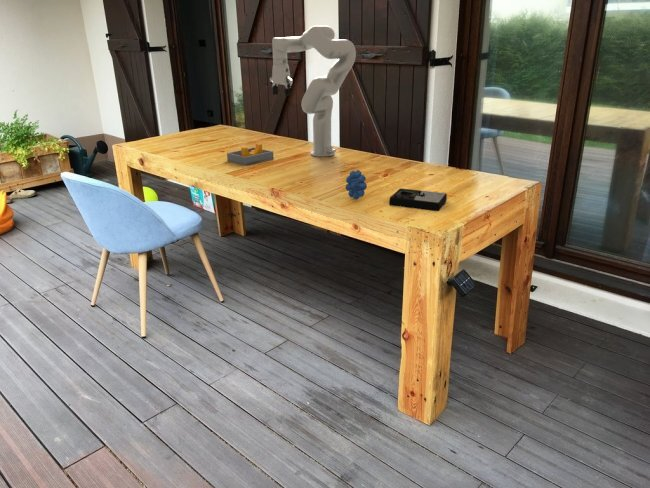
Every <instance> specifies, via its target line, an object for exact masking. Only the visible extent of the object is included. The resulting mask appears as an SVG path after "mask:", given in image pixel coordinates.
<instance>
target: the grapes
mask: <svg viewBox="0 0 650 488" xmlns="http://www.w3.org/2000/svg"><path fill="white" fill-rule="evenodd" d="M366 178H367V177H366V176H365V174H362V171H360V170H359V169H358V170H356V171H355V170H352V171H350V172H349V175H348V176H347V177H346V179H345V182H346V183H347V184H346V185H345V190H346V191H347V192H348V197H350V198H353V199H354V200H358V199H360V198H362V197H363V196H365V190H366V189H367V186H368V185H367V182H366Z"/></svg>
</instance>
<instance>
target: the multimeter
mask: <svg viewBox="0 0 650 488" xmlns="http://www.w3.org/2000/svg"><path fill="white" fill-rule="evenodd" d="M447 198H448V195H447V193H446V192H440V191H439V192H437V191H431V190H430V191H429V190H419V189H412V188H411V189H410V188H399V189H398V190H396V192H395V193H393V194H392V195H391V196H390V197H389V203H388V204H389V206H391V207H392V206H393V207H398V208H399V207H400V208H409V209H416V210H424V211H432V212H440V210H441V209H442V207H444V205H445V204H446V203H447V200H448V199H447Z"/></svg>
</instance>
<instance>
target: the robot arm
mask: <svg viewBox="0 0 650 488" xmlns="http://www.w3.org/2000/svg"><path fill="white" fill-rule="evenodd" d="M271 41H272V45H271V46H272V62H273V63H272V64H273V65H272V71H271V72H272V73H271V77H269V82H270V84H271V88H272V95H274V96H276V95H279V87H278V86H279V85H283V86H284V87H285V89H284V96H285V97H290V96H291V88H292V86H293V82H294V81H293V79H292V78H291V71H290V66H289V64H288V63H289V62H288V54H289V53H300V52H304V51H309V50H311V49H314V50H315V51H317V52H318V53H319V55H321V56H322V57H323V58H325V59H328V60H336V61H335V62H334V63H333V64H332V65H331V67H330V69H329V70H328V72H327V74H326V75H323V76H317V77H314V79H312V80H311V82H310V83H309V85H308V87H307V89H306V91H305V92H304V95H303V96H302V99H301V109H302V112H304V113H305V114H307V115H311V114H313V117H312V140H313V141H312V143H313V144H312V145H313V150H311V151H310V155H311V156H313V157H318V158H319V157H320V158H321V157H322V158H323V157H331V156H334V155H335V153H336V152H337V149H335V148H334V146H333V145H332V112H333V107H334V99H333V97H332V96H334V95H336V94H337V93H338V91H339V90H340V88H341V86H342V84H343V82H344V81H345V79H346V77H347V76H348V74H349V72H350V71H351V69H352V67H353V66H354V64H355V61H356V57H357V51H356V47H355V45H354V43H353V42H352V41H350V40H349V39H344V38H343V39H335V30H334V29H333V27H331V26H329V25H312V26H311V27H309V28H308V30H306V31H304V32H303V33H302V35H300V36H285V37H284V36H283V37H279V36H277V37H273V38H272V40H271Z"/></svg>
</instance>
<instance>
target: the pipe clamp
mask: <svg viewBox="0 0 650 488" xmlns="http://www.w3.org/2000/svg"><path fill="white" fill-rule="evenodd" d="M248 149H249V148H248V147H247V146H242V147H240V150H241V153H242V156H244V157H248V156H252V155H257V154H261V153H262V149H263V144H262V143H255V150H251V152H249V151H248Z"/></svg>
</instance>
